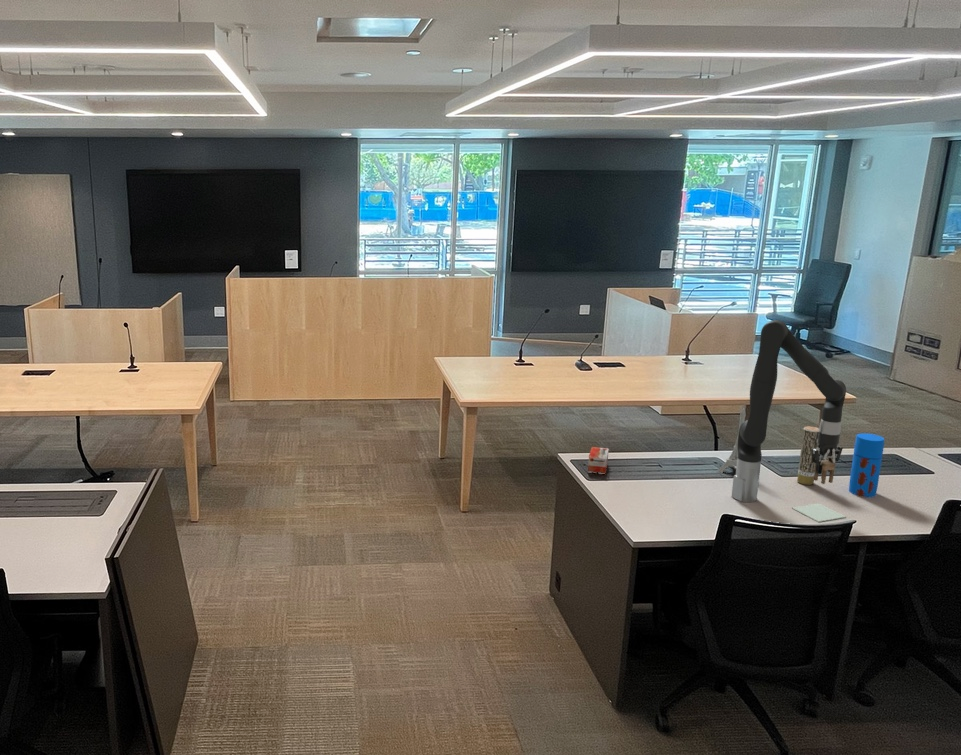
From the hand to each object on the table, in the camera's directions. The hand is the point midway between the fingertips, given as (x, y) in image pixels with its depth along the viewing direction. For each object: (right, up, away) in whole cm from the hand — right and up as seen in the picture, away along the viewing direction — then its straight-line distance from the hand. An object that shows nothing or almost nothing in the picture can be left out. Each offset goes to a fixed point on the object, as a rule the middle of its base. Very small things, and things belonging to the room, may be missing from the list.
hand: (824, 472), depth 299 cm
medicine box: (-82, -5, +48) cm, 95 cm away
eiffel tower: (-18, -6, +48) cm, 52 cm away
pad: (0, -17, +4) cm, 17 cm away
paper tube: (+8, -9, +36) cm, 39 cm away
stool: (0, -4, +1) cm, 4 cm away
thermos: (+28, -12, +26) cm, 41 cm away
